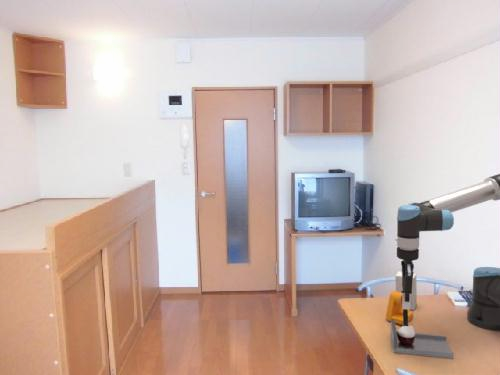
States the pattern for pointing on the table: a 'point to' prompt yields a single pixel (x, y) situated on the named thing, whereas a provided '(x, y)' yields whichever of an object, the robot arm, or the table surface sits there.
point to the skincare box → (414, 292)
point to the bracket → (396, 308)
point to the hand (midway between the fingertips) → (406, 308)
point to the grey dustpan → (422, 345)
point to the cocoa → (406, 331)
